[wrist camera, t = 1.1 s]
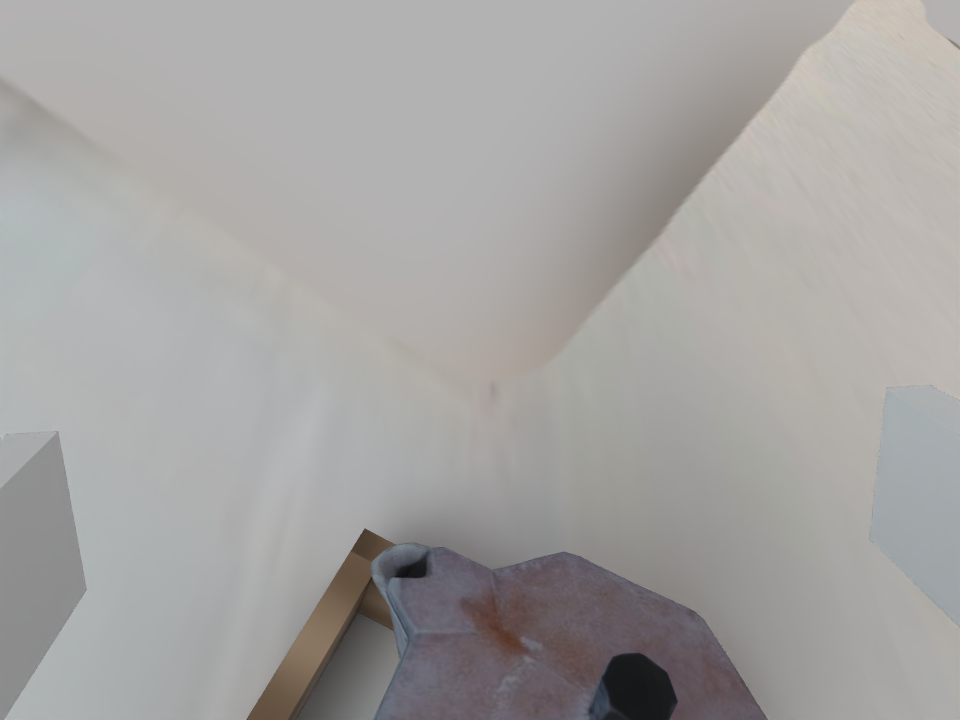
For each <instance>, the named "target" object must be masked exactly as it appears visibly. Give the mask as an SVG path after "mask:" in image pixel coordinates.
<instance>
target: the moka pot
mask: <svg viewBox="0 0 960 720" xmlns="http://www.w3.org/2000/svg"><path fill="white" fill-rule="evenodd" d="M370 573H371V576H372V578H373V581H374V583H375V585H376V586H377V588H378V590H379V592H380V593H381V595H382V596H383V598H384V599H385V601H386V602H387V603H388V606H389V610H390V614H391V618H392V623H393V627H394V632H395V638H396V643H397V648H398V652H399V657H400V661H399V664H398V666H397V668H396V671H395V673H394V675H393V678H392V680H391V682H390V684H389V686H388V688H387V691H386V693H385V695H384V697H383V699H382V701H381V704H380V706H379V708H378V710H377V712H376V714H375V717H374V719H373V720H768V719H767V718H766V716H765V715H764V713H763V712H762V710H761V709H760V707H759V705H758V704H757V702H756V701H755V699H754V697H753V696H752V694H751V693H750V691H749V689H748V688H747V686H746V685H745V683H744V681H743V680H742V678H741V677H740V675H739V673H738V672H737V670H736V669H735V667H734V666H733V664H732V662H731V661H730V659H729V658H728V656H727V654H726V653H725V651H724V650H723V648H722V647H721V645H720V644H719V642H718V641H717V639H716V638H715V636H714V635H713V633H712V631H711V630H710V628H709V627H708V625H707V624H706V622H705V620H704V619H703V618H702V617H701V616H699V615H698V614H697V613H696V612H695V611H693V610H691V609H688V608H686V607H684V606H682V605H680V604H678V603H676V602H674V601H672V600H669V599H667V598H665V597H663V596H661V595H658V594H656V593H654V592H652V591H650V590H647V589H645V588H643V587H641V586H639V585H636V584H634V583H632V582H630V581H628V580H626V579H624V578H622V577H620V576H618V575H616V574H614V573H612V572H610V571H607V570H605V569H603V568H601V567H599V566H597V565H595V564H593V563H591V562H589V561H588V560H586V559H584V558H582V557H580V556H577V555H573V554H570V553H566V552H561V553H557V554H552V555H548V556H544V557H540V558H536V559H533V560H529V561H526V562H523V563H519V564H516V565H513V566H509V567H504V568H499V569H494V570H491V569H489V568H487V567H484V566H482V565H480V564H478V563H476V562H473V561H471V560H469V559H467V558H465V557H463V556H461V555H459V554H457V553H455V552H453V551H450V550H448V549H446V548H444V547H439V548H430V547H427V546H423V545H420V544H417V543H405V544H399V545H394V546H391V547H389V548H387V549H385V550H384V551H383V552H382V553H381V554H380V555H379V556H378V557H376V558H375V559H374V560H373V561H372V563H371V566H370Z"/></svg>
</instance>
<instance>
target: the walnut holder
mask: <svg viewBox="0 0 960 720" xmlns="http://www.w3.org/2000/svg"><path fill="white" fill-rule="evenodd" d="M394 545H395V544H393V543H391V542H389V541H387V540H385V539H384V538H382V537H380V536H378V535H376V534H374V533H372V532H371V531H369V530H367V529H364V531H363V532H362V534H361V535H360V537H359V539H358V540H357V542H356V543H355V545H354V547H353V548H352V550H351V552H350V553H349V555H348V556H347V558H346V560H345V561H344V563H343V564H342V566H341V568H340V569H339V571H338V573H337V574H336V576H335V577H334V579H333V581H332V582H331V584H330V585H329V587H328V589H327V590H326V592H325V594H324V595H323V597H322V598H321V600H320V602H319V603H318V605H317V606H316V608H315V610H314V611H313V613H312V615H311V616H310V618H309V619H308V621H307V623H306V624H305V626H304V627H303V629H302V631H301V632H300V634H299V636H298V637H297V639H296V640H295V642H294V644H293V645H292V647H291V648H290V650H289V652H288V653H287V655H286V656H285V658H284V660H283V661H282V663H281V665H280V666H279V668H278V669H277V671H276V673H275V674H274V676H273V677H272V679H271V681H270V682H269V684H268V686H267V687H266V689H265V690H264V692H263V694H262V695H261V697H260V698H259V700H258V702H257V703H256V705H255V707H254V708H253V710H252V711H251V713H250V715H249V716H248V718H247V719H246V720H296V718H297V717H298V715H299V713H300V711H301V710H302V708H303V706H304V704H305V703H306V701H307V699H308V697H309V696H310V694H311V692H312V690H313V689H314V687H315V685H316V683H317V682H318V680H319V678H320V677H321V675H322V673H323V671H324V670H325V668H326V666H327V664H328V663H329V661H330V659H331V657H332V656H333V654H334V652H335V650H336V649H337V647H338V645H339V643H340V642H341V640H342V638H343V637H344V635H345V633H346V631H347V630H348V628H349V626H350V624H351V623H352V621H353V619H354V617H355V616H356V614H357V612H360V613H362V614H364V615H366V616H368V617H369V618H371V619H373V620H375V621H377V622H378V623H380V624H382V625H384V626H386V627H388V628H389V629H391V630H393V631H394V627H393V623H392V618H391V614H390V610H389V606H388V603H387V602H386V601H385V599H384V598H383V596H382V595H381V593H380V592H379V590H378V588H377V586H376V585H375V583H374V581H373V578H372V576H371V573H370V566H371V563H372V561H373V560H374V559H375V558H376V557H378V556H379V555H380V554H381V553H382V552H383V551H384V550H385V549H387V548H389V547H391V546H394Z"/></svg>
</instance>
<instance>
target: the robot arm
mask: <svg viewBox="0 0 960 720" xmlns="http://www.w3.org/2000/svg"><path fill="white" fill-rule="evenodd" d="M869 539H870V540H871V541H872V542H873V543H874V544H875V545H876V546H877V547H878V548H879V549H880V550H881V551H882V552H883V553H884V554H885V555H886V556H887V557H888V558H889V559H890V560H891V561H892V562H893V563H894V564H895V565H896V566H897V567H898V568H899V569H900V570H901V571H902V572H903V573H904V574H905V575H906V576H907V577H908V578H909V579H910V580H911V581H912V582H913V583H914V584H915V585H917V586H918V587H919V588H920V589H921V590H922V591H923V592H924V593H925V594H926V595H927V596H928V597H929V598H930V599H931V600H932V601H933V602H934V603H935V604H936V605H937V606H938V607H939V608H940V609H941V610H942V611H943V612H944V613H945V614H946V615H947V616H948V617H949V618H950V619H951V620H952V621H953V622H954V623H955V624H956V625H957V626H958V627H959V628H960V401H959V400H957V399H955V398H953V397H952V396H950V395H948V394H946V393H945V392H943V391H941V390H939V389H938V388H936V387H934V386H932V385H926V386H907V387H888V388H886V397H885V406H884V415H883V423H882V432H881V441H880V450H879V459H878V467H877V476H876V485H875V494H874V502H873V511H872V520H871V529H870V538H869ZM86 590H87V589H86V583H85V578H84V572H83V567H82V561H81V556H80V550H79V545H78V539H77V533H76V528H75V522H74V517H73V511H72V506H71V500H70V495H69V489H68V484H67V478H66V472H65V467H64V461H63V456H62V450H61V445H60V439H59V434H58V432H39V433H20V434H6V435H5V436H4V437H3V438H2V439H0V720H4V719H5V717H6V716H7V714H8V712H9V711H10V709H11V708H12V706H13V705H14V703H15V701H16V700H17V698H18V697H19V695H20V694H21V692H22V690H23V689H24V687H25V686H26V684H27V683H28V681H29V679H30V678H31V676H32V675H33V673H34V672H35V670H36V668H37V667H38V665H39V664H40V662H41V661H42V659H43V657H44V656H45V654H46V653H47V651H48V650H49V648H50V646H51V645H52V643H53V642H54V640H55V639H56V637H57V635H58V634H59V632H60V631H61V629H62V628H63V626H64V624H65V623H66V621H67V620H68V618H69V617H70V615H71V613H72V612H73V610H74V609H75V607H76V606H77V604H78V602H79V601H80V599H81V598H82V596H83V595H84V593H85V591H86Z"/></svg>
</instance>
